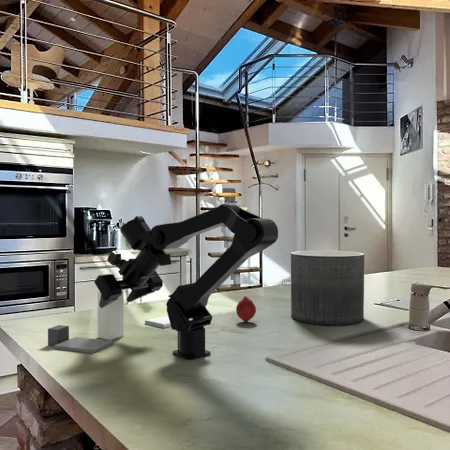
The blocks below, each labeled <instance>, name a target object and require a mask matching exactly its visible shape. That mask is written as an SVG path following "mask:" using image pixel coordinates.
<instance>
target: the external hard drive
mask: <svg viewBox="0 0 450 450" xmlns="http://www.w3.org/2000/svg"><path fill="white" fill-rule="evenodd" d="M189 320H190V321H191V320H193V319H192V318H190V319H189ZM144 324H145V325H149V326H152V327H158V328H161V329H166V328H170V327H171V324H170V321H169V317H168V315H164V316H159V317H155V318H151V319H144Z"/></svg>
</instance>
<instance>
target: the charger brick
mask: <svg viewBox="0 0 450 450" xmlns="http://www.w3.org/2000/svg"><path fill="white" fill-rule="evenodd" d="M100 298H101V293H100V291H99V290H98V291H97V337H98V339H102V340H110V341H113V340H115V339H119V338H122V337H124V335H125V334H124V332H125V331H124V324H125V323H124V322H125V320H124V290H122V294H121V295H120V296H119V297H118V299H117V300H116V301H114V302H112V303H110V304H109V305H107V306H105V307H103V308H101V307H100V306H99V303H100Z"/></svg>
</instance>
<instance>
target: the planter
mask: <svg viewBox="0 0 450 450" xmlns="http://www.w3.org/2000/svg"><path fill="white" fill-rule="evenodd" d="M364 303H365V253H363V252H357V251H347V250H344V251H343V250H300V251H299V250H298V251H292V252H290V304H291V305H290V308H291V309H290V313H291V314H290V316H291V318H292V319H294V320H295V321H297V322H301V323H305V324H309V325H315V326H316V325H317V326H328V327H329V326H333V327H335V326H339V327H340V325H342V326H350V325H351V326H352V325H356V324H360V323H361V322H363V321H364V318H365V316H364V315H365V314H364V312H365V311H364V310H365V309H364V307H365V306H364V305H365V304H364Z"/></svg>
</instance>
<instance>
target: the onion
mask: <svg viewBox="0 0 450 450" xmlns="http://www.w3.org/2000/svg"><path fill="white" fill-rule="evenodd" d="M235 312H236V316H238V318H239V319H240V320H241V321H243V322H244V323H247V322H249V321H251V320H252V319H253V318H254V317H255V316H256V313H257V309H256V305H255V303H254V302H253V300H251V299H250V298H249V297H248V295H246V294H244V296H243V298H242V299H241V300H240V301H239V302H238V303H237V305H236V308H235Z"/></svg>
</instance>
